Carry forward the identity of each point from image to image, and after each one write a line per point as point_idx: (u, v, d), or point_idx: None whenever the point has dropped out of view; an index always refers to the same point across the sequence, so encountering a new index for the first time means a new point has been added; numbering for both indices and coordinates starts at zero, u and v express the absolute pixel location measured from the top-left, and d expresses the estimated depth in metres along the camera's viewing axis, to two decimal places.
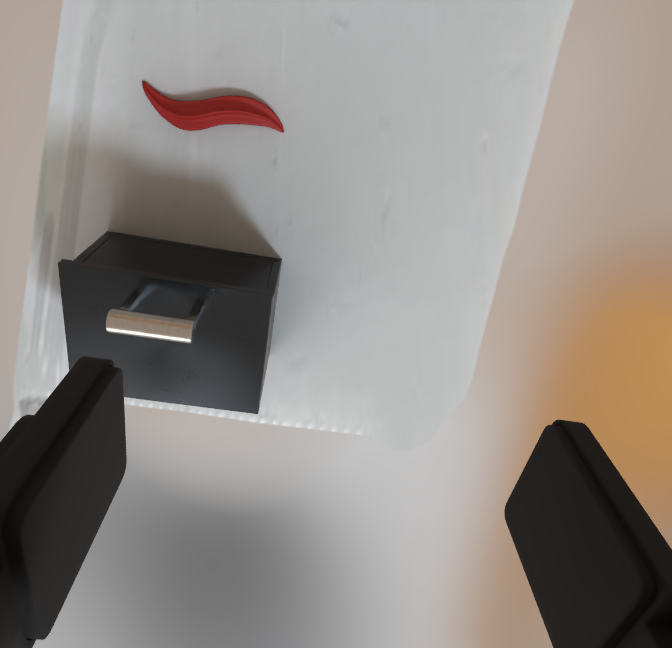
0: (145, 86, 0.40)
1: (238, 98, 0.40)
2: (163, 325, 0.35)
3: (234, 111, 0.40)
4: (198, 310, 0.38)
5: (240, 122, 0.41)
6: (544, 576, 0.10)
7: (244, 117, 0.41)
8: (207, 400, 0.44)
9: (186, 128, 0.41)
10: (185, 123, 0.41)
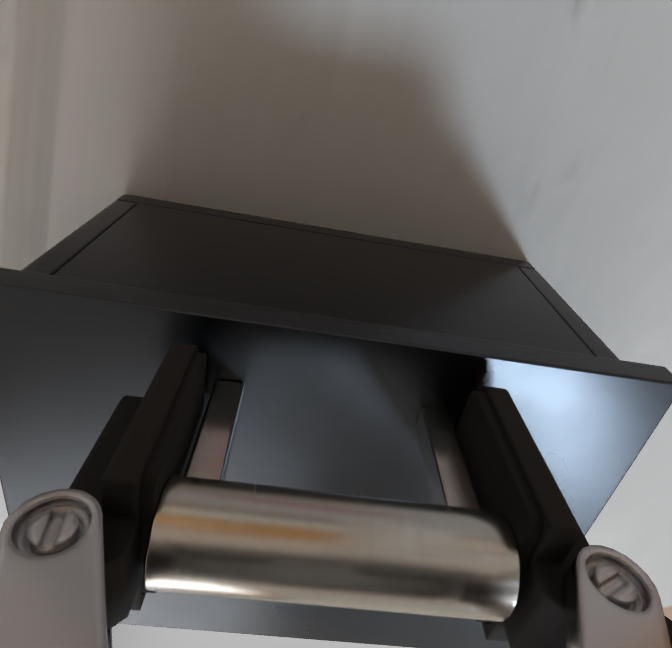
0: None
1: None
2: (400, 564, 0.08)
3: None
4: (455, 444, 0.11)
5: None
6: None
7: None
8: (388, 632, 0.17)
9: None
10: None
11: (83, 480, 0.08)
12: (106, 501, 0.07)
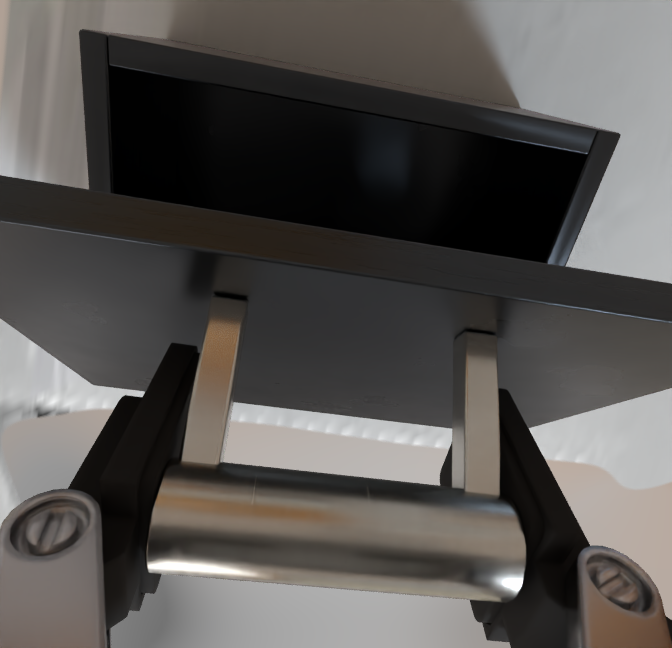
0: None
1: None
2: (398, 578, 0.08)
3: None
4: (493, 394, 0.09)
5: None
6: None
7: None
8: (403, 418, 0.19)
9: None
10: None
11: (82, 480, 0.08)
12: (105, 501, 0.07)
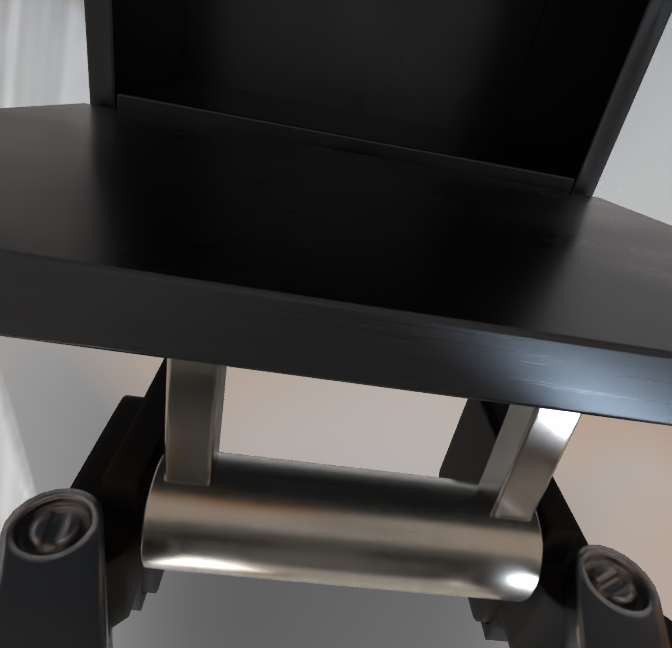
0: None
1: None
2: None
3: None
4: (567, 428, 0.07)
5: None
6: None
7: None
8: None
9: None
10: None
11: (84, 480, 0.08)
12: (107, 501, 0.07)
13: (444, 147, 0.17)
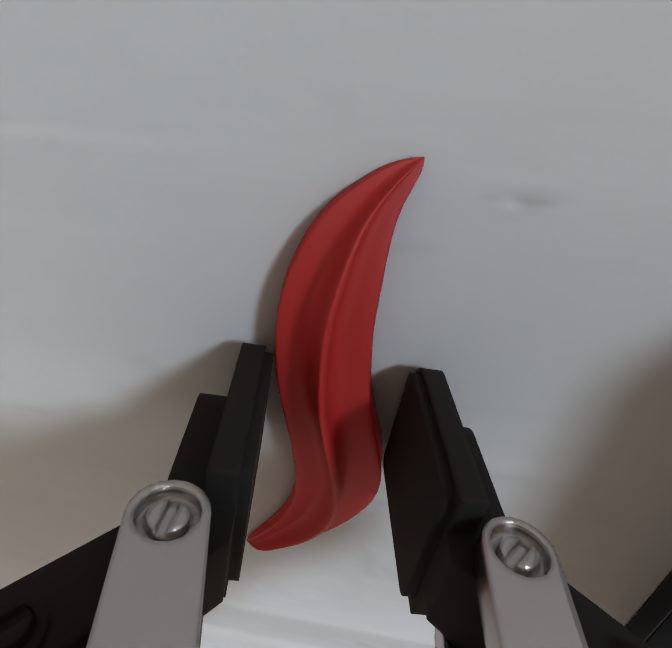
0: (258, 542, 0.14)
1: (281, 331, 0.10)
2: None
3: (322, 368, 0.10)
4: None
5: (367, 334, 0.10)
6: (398, 509, 0.11)
7: (350, 317, 0.10)
8: None
9: (373, 487, 0.13)
10: (358, 487, 0.13)
11: (178, 473, 0.08)
12: (209, 492, 0.08)
13: None
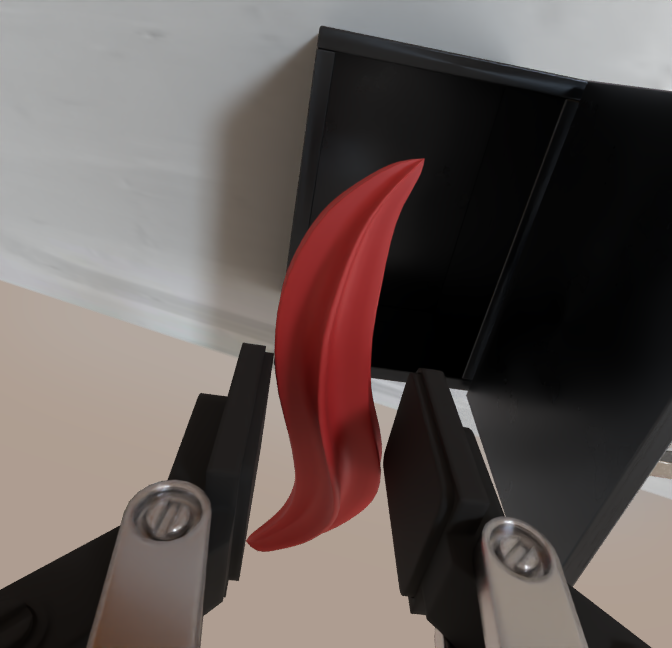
0: (258, 543, 0.14)
1: (281, 333, 0.10)
2: None
3: (321, 369, 0.10)
4: None
5: (367, 336, 0.10)
6: (397, 509, 0.11)
7: (350, 319, 0.10)
8: None
9: (372, 488, 0.13)
10: (357, 488, 0.13)
11: (178, 473, 0.08)
12: (209, 492, 0.08)
13: (518, 187, 0.24)
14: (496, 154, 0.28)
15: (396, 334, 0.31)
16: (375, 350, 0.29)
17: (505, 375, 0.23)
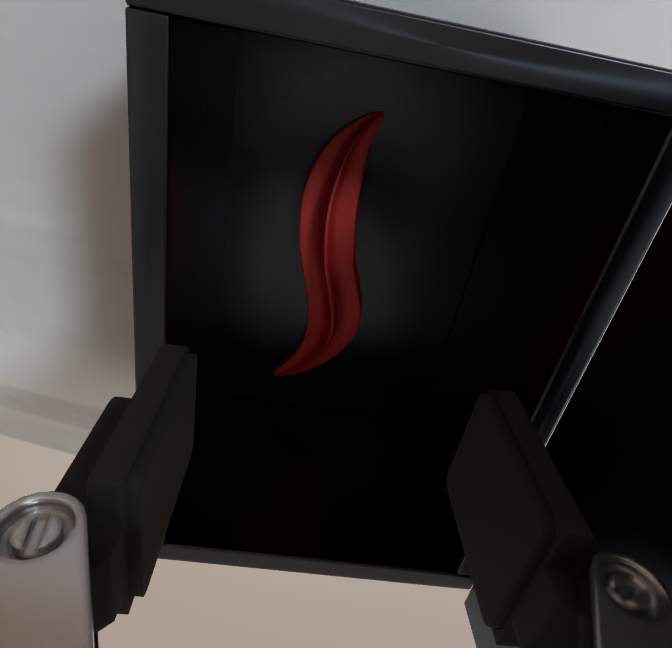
0: (280, 372, 0.22)
1: (303, 212, 0.18)
2: None
3: (326, 228, 0.17)
4: None
5: (352, 215, 0.18)
6: (473, 535, 0.10)
7: (343, 204, 0.18)
8: None
9: (355, 323, 0.20)
10: (346, 323, 0.20)
11: (69, 482, 0.08)
12: (91, 504, 0.07)
13: (560, 278, 0.13)
14: (516, 205, 0.17)
15: (357, 475, 0.20)
16: (317, 516, 0.18)
17: None
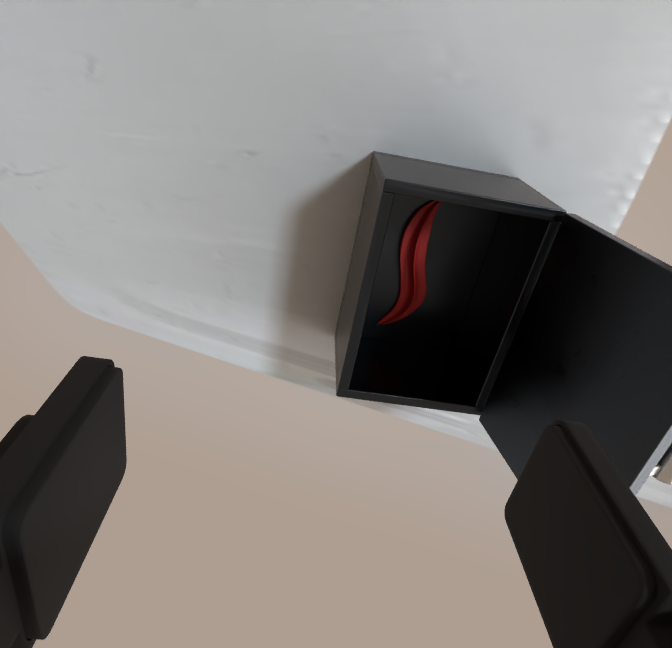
0: (382, 322, 0.43)
1: (403, 243, 0.39)
2: None
3: (415, 250, 0.38)
4: None
5: (426, 244, 0.39)
6: (544, 576, 0.10)
7: (422, 239, 0.39)
8: None
9: (423, 296, 0.41)
10: (419, 296, 0.41)
11: None
12: None
13: (517, 273, 0.34)
14: (501, 240, 0.38)
15: (424, 370, 0.41)
16: (410, 384, 0.39)
17: (519, 410, 0.33)
